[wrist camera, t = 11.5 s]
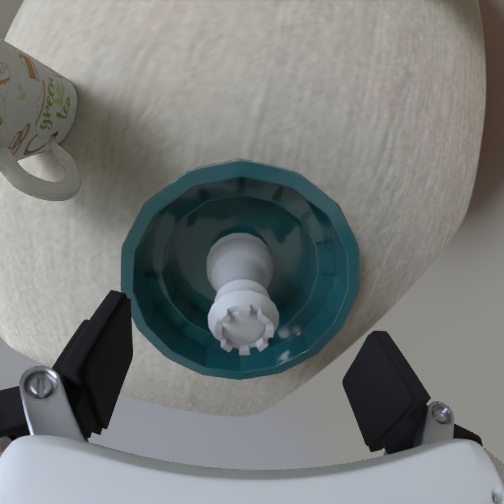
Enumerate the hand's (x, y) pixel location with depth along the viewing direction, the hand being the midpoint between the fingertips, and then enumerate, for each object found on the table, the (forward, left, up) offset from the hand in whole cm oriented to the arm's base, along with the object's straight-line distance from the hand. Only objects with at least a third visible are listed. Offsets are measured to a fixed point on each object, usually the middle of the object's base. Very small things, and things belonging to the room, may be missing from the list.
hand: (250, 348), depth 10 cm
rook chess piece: (+1, 0, -10) cm, 10 cm away
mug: (-7, -15, -10) cm, 20 cm away
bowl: (+1, 0, -10) cm, 10 cm away
